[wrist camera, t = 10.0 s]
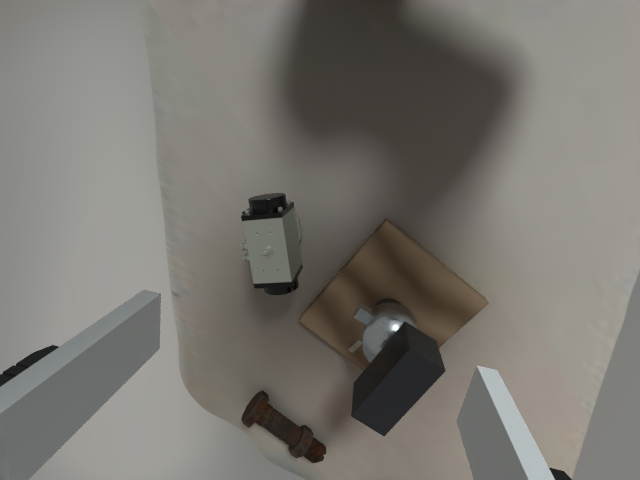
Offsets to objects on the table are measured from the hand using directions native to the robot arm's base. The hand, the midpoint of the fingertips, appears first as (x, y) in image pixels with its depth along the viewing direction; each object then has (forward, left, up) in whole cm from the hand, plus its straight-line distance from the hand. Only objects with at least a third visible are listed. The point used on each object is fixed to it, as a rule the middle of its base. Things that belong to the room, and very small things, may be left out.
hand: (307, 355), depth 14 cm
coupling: (+9, +14, -29) cm, 34 cm away
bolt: (+37, +16, -35) cm, 53 cm away
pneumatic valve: (+9, -5, -35) cm, 36 cm away
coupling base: (+9, +14, -35) cm, 38 cm away
